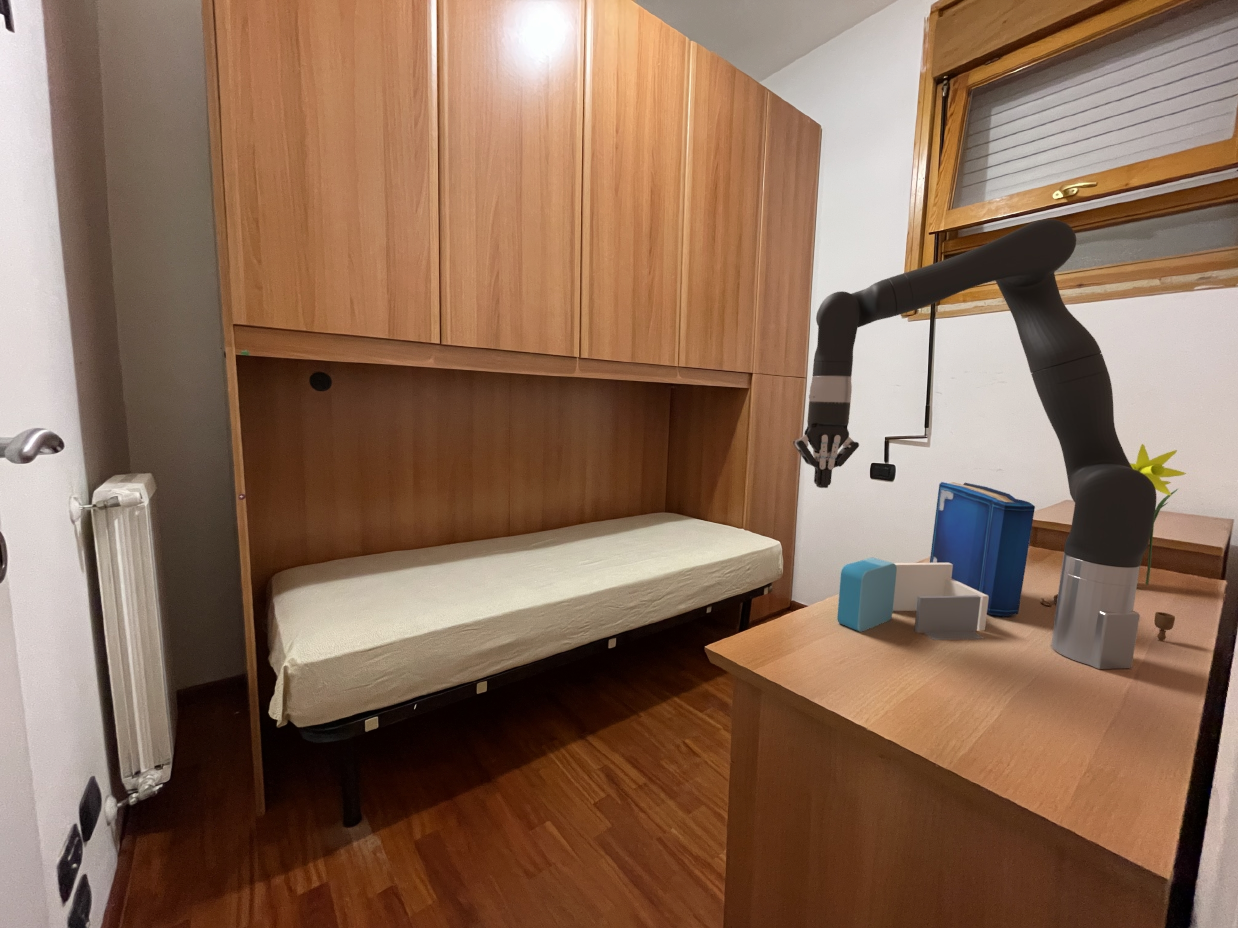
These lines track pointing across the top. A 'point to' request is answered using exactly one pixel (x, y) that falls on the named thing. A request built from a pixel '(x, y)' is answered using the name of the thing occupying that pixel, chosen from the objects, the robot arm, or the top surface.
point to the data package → (866, 593)
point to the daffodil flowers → (1155, 484)
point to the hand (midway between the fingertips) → (822, 487)
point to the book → (984, 541)
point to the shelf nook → (939, 601)
